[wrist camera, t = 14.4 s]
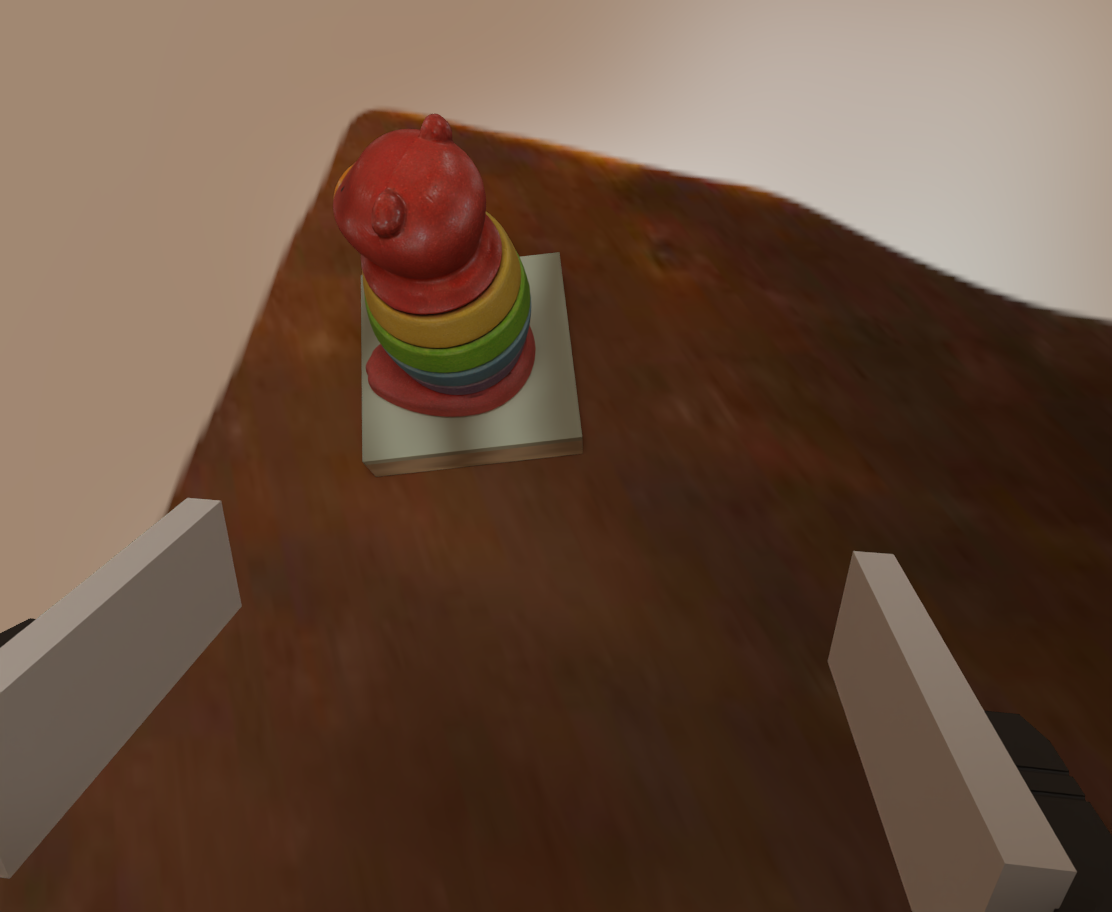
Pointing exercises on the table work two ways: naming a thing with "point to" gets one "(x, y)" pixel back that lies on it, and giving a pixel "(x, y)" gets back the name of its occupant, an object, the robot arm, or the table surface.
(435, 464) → the plinth
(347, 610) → the table surface
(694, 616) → the table surface
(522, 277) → the stacking bear
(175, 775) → the table surface
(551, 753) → the table surface
